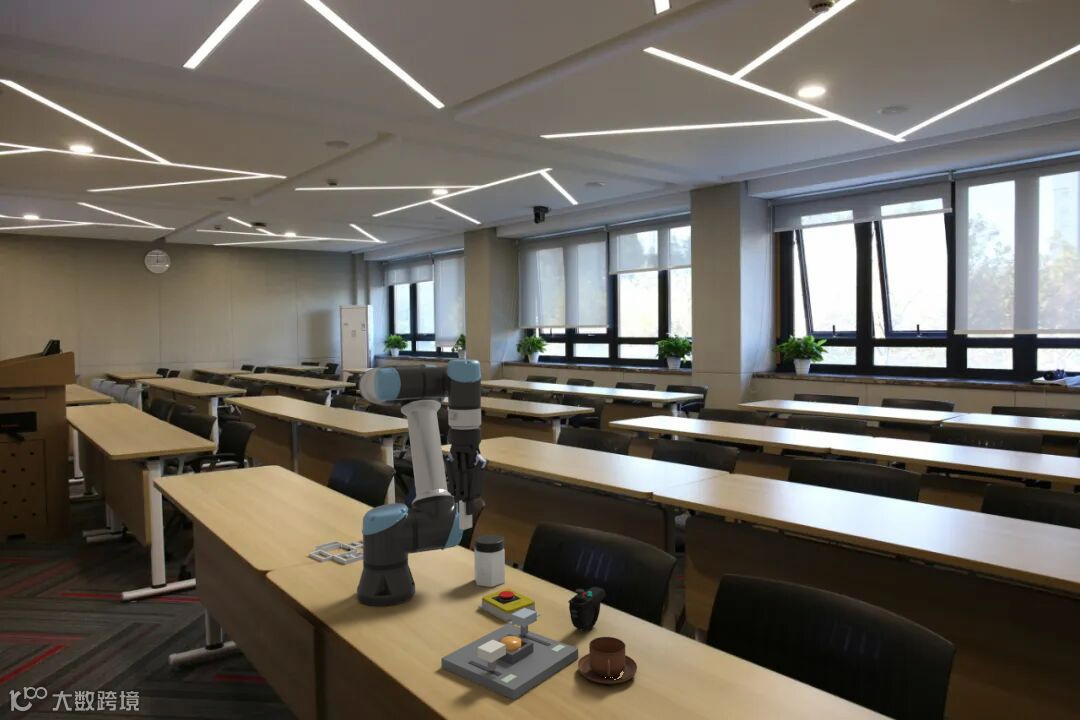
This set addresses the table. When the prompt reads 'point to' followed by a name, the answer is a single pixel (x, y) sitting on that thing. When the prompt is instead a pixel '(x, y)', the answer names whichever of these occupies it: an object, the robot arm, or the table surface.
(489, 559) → the jar
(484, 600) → the emergency button
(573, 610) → the controller
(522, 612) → the slate lever
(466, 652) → the control panel
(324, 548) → the floor plan model
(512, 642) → the amber button
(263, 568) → the table surface
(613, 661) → the cup and saucer
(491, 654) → the off-white rectangular box
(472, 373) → the robot arm
